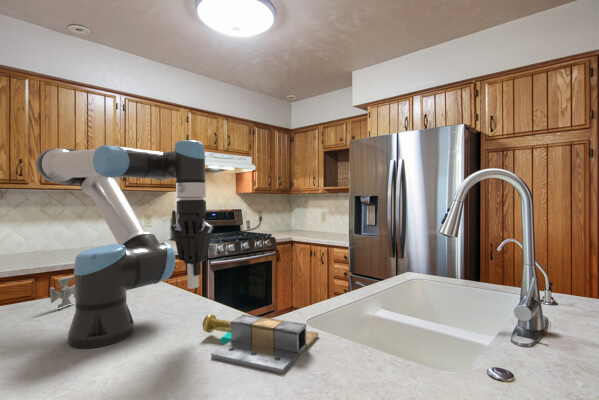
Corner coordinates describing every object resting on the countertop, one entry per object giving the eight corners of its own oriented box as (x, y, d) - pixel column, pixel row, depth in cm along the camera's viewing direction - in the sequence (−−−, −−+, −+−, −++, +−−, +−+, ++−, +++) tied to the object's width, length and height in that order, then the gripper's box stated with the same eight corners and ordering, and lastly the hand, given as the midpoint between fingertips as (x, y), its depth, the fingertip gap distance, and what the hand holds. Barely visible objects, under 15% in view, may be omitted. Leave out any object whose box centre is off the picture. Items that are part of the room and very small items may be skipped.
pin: (202, 334, 87) (202, 317, 87) (213, 328, 91) (213, 312, 91) (271, 347, 79) (270, 328, 79) (279, 340, 83) (279, 322, 83)
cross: (54, 312, 109) (53, 281, 109) (47, 312, 110) (46, 281, 110) (81, 303, 119) (81, 274, 119) (75, 302, 120) (75, 274, 120)
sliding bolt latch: (211, 358, 76) (210, 332, 76) (258, 326, 94) (257, 305, 94) (282, 374, 69) (282, 345, 69) (318, 336, 87) (318, 314, 87)
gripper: (162, 200, 90) (164, 288, 90) (201, 198, 85) (203, 293, 85) (182, 199, 97) (184, 282, 97) (219, 198, 92) (222, 286, 92)
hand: (193, 287), depth 91 cm, fingers closed
